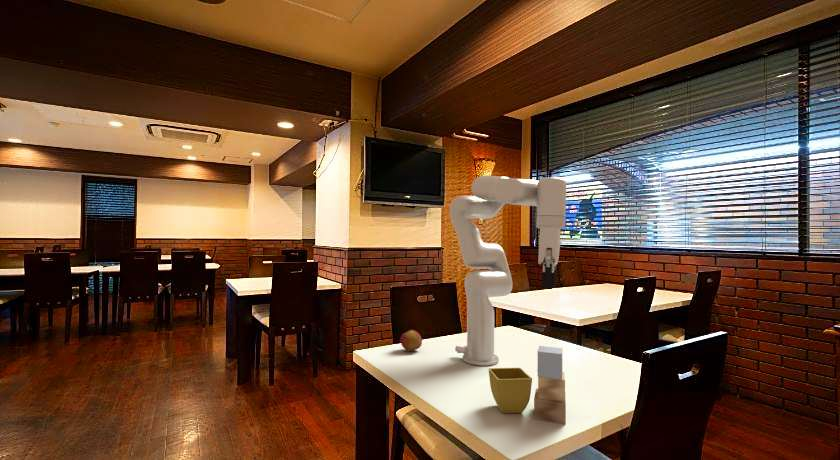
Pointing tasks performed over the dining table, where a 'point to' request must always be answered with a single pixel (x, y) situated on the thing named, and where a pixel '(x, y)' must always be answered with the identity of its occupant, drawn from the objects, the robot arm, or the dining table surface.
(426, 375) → the dining table surface
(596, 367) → the dining table surface
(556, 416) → the brown wooden block
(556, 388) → the oak middle block
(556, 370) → the slate block
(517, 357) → the dining table surface
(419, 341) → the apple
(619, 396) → the dining table surface
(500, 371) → the flower pot
